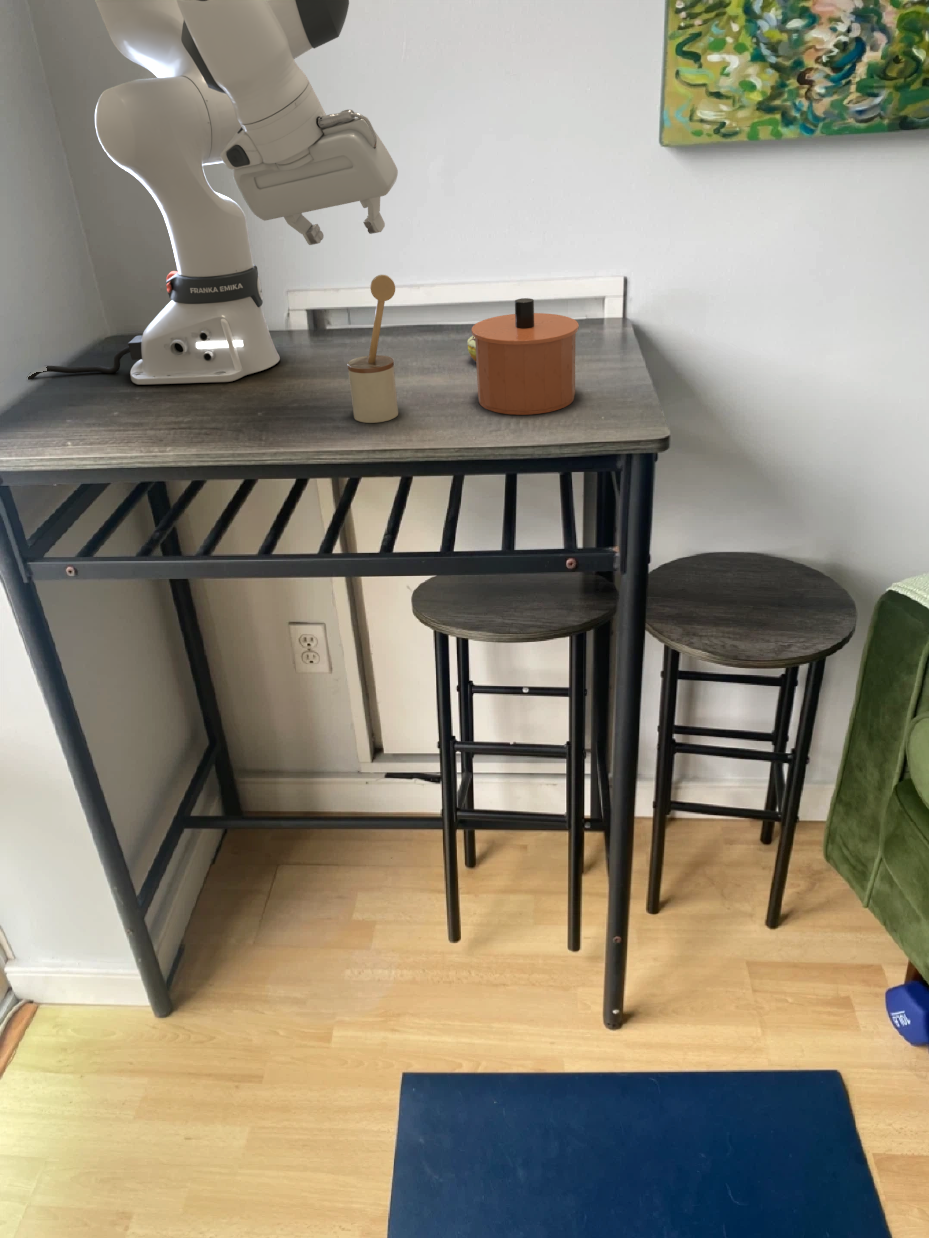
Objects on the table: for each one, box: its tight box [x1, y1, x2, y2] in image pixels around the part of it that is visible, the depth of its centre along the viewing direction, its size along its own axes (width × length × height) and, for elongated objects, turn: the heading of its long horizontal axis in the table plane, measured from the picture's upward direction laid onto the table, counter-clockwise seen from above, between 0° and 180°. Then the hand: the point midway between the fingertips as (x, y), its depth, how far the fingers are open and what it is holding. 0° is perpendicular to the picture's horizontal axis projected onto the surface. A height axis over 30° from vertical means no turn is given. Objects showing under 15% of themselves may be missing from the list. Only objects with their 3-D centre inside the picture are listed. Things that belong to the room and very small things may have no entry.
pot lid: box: [471, 297, 579, 345], centre depth 119 cm, size 14×14×4 cm
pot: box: [475, 332, 577, 416], centre depth 122 cm, size 13×13×9 cm
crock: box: [346, 274, 399, 424], centre depth 118 cm, size 7×6×17 cm
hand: (346, 236), depth 114 cm, fingers open, 8 cm apart
